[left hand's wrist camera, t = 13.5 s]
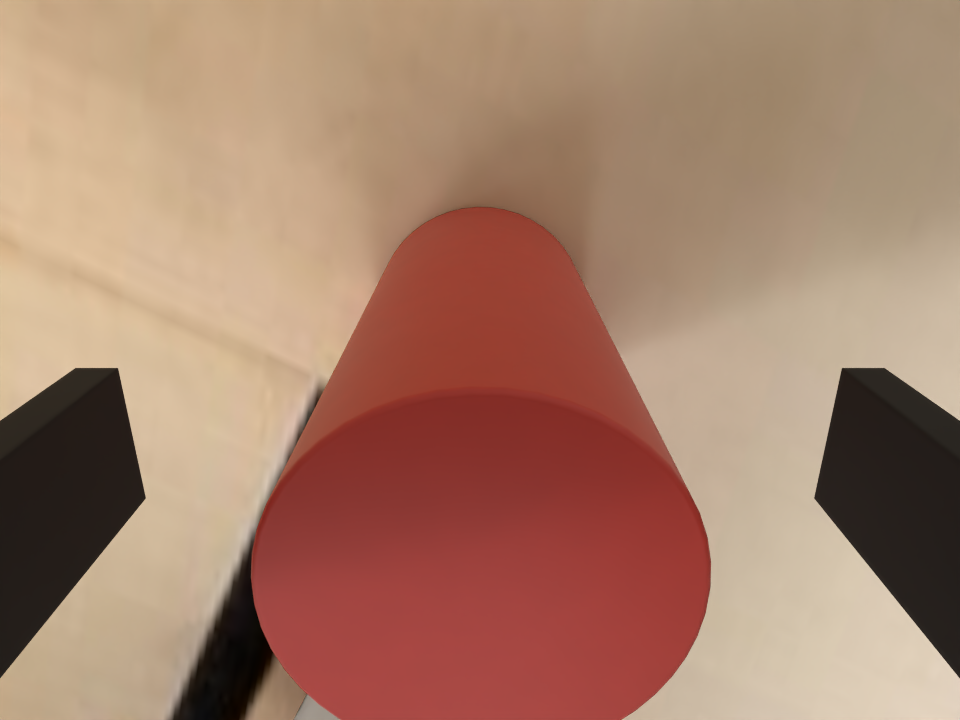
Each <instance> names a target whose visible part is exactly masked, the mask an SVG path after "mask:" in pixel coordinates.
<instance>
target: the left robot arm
mask: <svg viewBox="0 0 960 720" xmlns="http://www.w3.org/2000/svg"><path fill="white" fill-rule="evenodd" d="M145 499H146V497H145V493H144V488H143V483H142V479H141V474H140V469H139V464H138V460H137V455H136V450H135V446H134V441H133V436H132V432H131V427H130V422H129V418H128V413H127V408H126V404H125V399H124V394H123V390H122V385H121V380H120V376H119V371H118V368H75V369H74V370H72V371H71V372H69V373H68V374H67V375H65V376H64V377H62V378H61V379H59V380H58V381H57V382H55V383H54V384H52V385H51V386H49V387H48V388H47V389H45V390H44V391H42V392H41V393H39V394H38V395H37V396H35V397H34V398H32V399H31V400H29V401H28V402H27V403H25V404H24V405H22V406H21V407H19V408H18V409H17V410H15V411H14V412H12V413H11V414H9V415H8V416H7V417H5V418H4V419H2V420H1V421H0V678H1V677H2V675H3V674H4V673H5V672H6V670H7V669H8V668H9V667H10V665H11V664H12V663H13V662H14V660H15V659H16V658H17V657H18V656H19V654H20V653H21V652H22V651H23V649H24V648H25V647H26V646H27V644H28V643H29V642H30V641H31V639H32V638H33V637H34V636H35V635H36V633H37V632H38V631H39V630H40V628H41V627H42V626H43V625H44V623H45V622H46V621H47V620H48V618H49V617H50V616H51V615H52V614H53V612H54V611H55V610H56V609H57V607H58V606H59V605H60V604H61V602H62V601H63V600H64V599H65V597H66V596H67V595H68V594H69V592H70V591H71V590H72V589H73V588H74V586H75V585H76V584H77V583H78V581H79V580H80V579H81V578H82V576H83V575H84V574H85V573H86V571H87V570H88V569H89V568H90V567H91V565H92V564H93V563H94V562H95V560H96V559H97V558H98V557H99V555H100V554H101V553H102V552H103V550H104V549H105V548H106V547H107V546H108V544H109V543H110V542H111V541H112V539H113V538H114V537H115V536H116V534H117V533H118V532H119V531H120V529H121V528H122V527H123V526H124V524H125V523H126V522H127V521H128V520H129V518H130V517H131V516H132V515H133V513H134V512H135V511H136V510H137V508H138V507H139V506H140V505H141V503H142V502H143V501H144V500H145ZM814 499H815V500H816V501H817V502H818V503H819V505H820V506H821V507H822V508H823V510H824V511H825V512H826V513H827V515H828V516H829V517H830V518H831V520H832V521H833V522H834V523H835V524H836V526H837V527H838V528H839V529H840V531H841V532H842V533H843V534H844V536H845V537H846V538H847V539H848V541H849V542H850V543H851V544H852V546H853V547H854V548H855V549H856V550H857V552H858V553H859V554H860V555H861V557H862V558H863V559H864V560H865V562H866V563H867V564H868V565H869V567H870V568H871V569H872V570H873V571H874V573H875V574H876V575H877V576H878V578H879V579H880V580H881V581H882V583H883V584H884V585H885V586H886V588H887V589H888V590H889V591H890V592H891V594H892V595H893V596H894V597H895V599H896V600H897V601H898V602H899V604H900V605H901V606H902V607H903V609H904V610H905V611H906V612H907V614H908V615H909V616H910V617H911V618H912V620H913V621H914V622H915V623H916V625H917V626H918V627H919V628H920V630H921V631H922V632H923V633H924V635H925V636H926V637H927V638H928V639H929V641H930V642H931V643H932V644H933V646H934V647H935V648H936V649H937V651H938V652H939V653H940V654H941V656H942V657H943V658H944V659H945V660H946V662H947V663H948V664H949V665H950V667H951V668H952V669H953V670H954V672H955V673H956V674H957V675H958V677H959V678H960V421H959V420H958V419H956V418H955V417H953V416H952V415H951V414H949V413H948V412H946V411H945V410H943V409H942V408H941V407H939V406H938V405H936V404H935V403H933V402H932V401H931V400H929V399H928V398H926V397H925V396H923V395H922V394H921V393H919V392H918V391H916V390H915V389H913V388H912V387H911V386H909V385H908V384H906V383H905V382H903V381H902V380H901V379H899V378H898V377H896V376H895V375H893V374H892V373H891V372H889V371H888V370H886V369H885V368H842V371H841V376H840V380H839V385H838V390H837V394H836V399H835V404H834V408H833V413H832V418H831V422H830V427H829V432H828V436H827V441H826V446H825V450H824V455H823V460H822V464H821V469H820V474H819V478H818V483H817V488H816V493H815V497H814Z"/></svg>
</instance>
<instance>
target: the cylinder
mask: <svg viewBox="0 0 960 720" xmlns="http://www.w3.org/2000/svg"><path fill="white" fill-rule="evenodd" d="M251 581H252V588H253V596H254V604H255V608H256V611H257V614H258V618H259V621H260V625H261V628H262V630H263V632H264V634H265V637H266V639H267V641H268V643H269V645H270V647H271V649H272V651H273V652H274V654H275V656H276V657H277V659H278V660H279V662H280V663H281V665H282V666H283V668H284V669H285V671H286V672H287V673H288V674H289V675H290V676H291V678H292V679H293V680H294V681H295V682H296V683H297V684H298V686H299V687H300V688H301V689H302V690H303V691H304V692H306V693H307V694H308V695H309V696H310V697H311V698H312V699H313V700H314V701H316V702H317V703H318V704H319V705H320V706H322V707H323V708H324V709H326V710H327V711H329V712H330V713H331V714H333V715H334V716H336V717H337V718H339V719H340V720H622V719H623V718H625V717H626V716H628V715H629V714H631V713H633V712H634V711H636V710H637V709H638V708H639V707H640V706H642V705H643V704H644V703H645V702H647V701H648V700H649V699H650V698H651V697H653V696H654V695H655V694H656V693H657V692H658V691H659V690H660V689H661V688H662V687H663V686H664V685H665V683H666V682H667V681H668V680H669V679H670V678H671V677H672V676H673V674H674V673H675V672H676V670H677V669H678V668H679V666H680V665H681V664H682V662H683V661H684V659H685V658H686V656H687V655H688V653H689V651H690V649H691V647H692V645H693V643H694V641H695V640H696V638H697V636H698V633H699V630H700V627H701V624H702V622H703V619H704V616H705V613H706V608H707V602H708V597H709V592H710V581H711V559H710V552H709V545H708V538H707V534H706V531H705V528H704V525H703V522H702V519H701V515H700V513H699V511H698V509H697V507H696V505H695V503H694V501H693V499H692V497H691V495H690V493H689V491H688V489H687V487H686V485H685V483H684V481H683V479H682V477H681V475H680V473H679V471H678V469H677V467H676V465H675V463H674V461H673V459H672V457H671V455H670V453H669V451H668V449H667V447H666V445H665V443H664V442H663V440H662V438H661V436H660V434H659V432H658V430H657V428H656V426H655V424H654V422H653V420H652V418H651V416H650V414H649V412H648V410H647V408H646V406H645V404H644V402H643V400H642V398H641V396H640V394H639V392H638V390H637V388H636V386H635V384H634V382H633V380H632V378H631V377H630V375H629V373H628V371H627V369H626V367H625V365H624V363H623V361H622V359H621V357H620V355H619V353H618V351H617V349H616V347H615V345H614V343H613V341H612V339H611V337H610V335H609V333H608V331H607V329H606V327H605V325H604V323H603V321H602V319H601V317H600V315H599V313H598V312H597V310H596V308H595V306H594V304H593V302H592V300H591V298H590V296H589V294H588V292H587V290H586V288H585V286H584V284H583V282H582V280H581V278H580V276H579V274H578V272H577V270H576V268H575V266H574V264H573V262H572V260H571V258H570V256H569V255H568V253H567V252H566V251H565V249H564V248H563V246H562V245H561V244H560V243H559V242H558V241H557V239H556V238H555V237H554V236H553V235H552V234H550V233H549V232H548V231H547V230H546V229H544V228H543V227H542V226H540V225H539V224H537V223H535V222H534V221H532V220H531V219H528V218H526V217H524V216H522V215H520V214H517V213H514V212H510V211H507V210H503V209H497V208H489V207H474V208H464V209H459V210H455V211H451V212H448V213H445V214H443V215H440V216H437V217H435V218H433V219H432V220H430V221H428V222H426V223H424V224H423V225H422V226H420V227H419V228H417V229H416V230H415V231H413V232H412V233H411V234H410V235H409V236H408V237H407V238H406V239H405V240H404V241H403V242H402V244H401V245H400V246H399V247H398V249H397V250H396V251H395V253H394V255H393V256H392V258H391V260H390V262H389V263H388V265H387V267H386V269H385V271H384V273H383V275H382V277H381V279H380V281H379V283H378V285H377V287H376V289H375V291H374V293H373V295H372V297H371V299H370V301H369V303H368V305H367V307H366V309H365V311H364V313H363V315H362V317H361V318H360V320H359V322H358V324H357V326H356V328H355V330H354V332H353V334H352V336H351V338H350V340H349V342H348V344H347V346H346V348H345V350H344V352H343V354H342V356H341V358H340V360H339V362H338V364H337V366H336V368H335V370H334V372H333V374H332V376H331V378H330V380H329V382H328V384H327V385H326V387H325V389H324V391H323V393H322V395H321V397H320V399H319V401H318V403H317V405H316V407H315V409H314V411H313V413H312V415H311V417H310V419H309V421H308V423H307V425H306V427H305V429H304V431H303V433H302V435H301V437H300V439H299V441H298V443H297V445H296V447H295V449H294V451H293V453H292V454H291V456H290V458H289V460H288V462H287V464H286V466H285V468H284V470H283V472H282V474H281V476H280V478H279V480H278V482H277V484H276V486H275V488H274V490H273V492H272V494H271V496H270V498H269V500H268V502H267V504H266V506H265V509H264V511H263V514H262V517H261V519H260V522H259V524H258V527H257V531H256V536H255V541H254V546H253V550H252V566H251Z"/></svg>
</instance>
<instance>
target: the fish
mask: <svg viewBox="0 0 960 720" xmlns="http://www.w3.org/2000/svg"><path fill="white" fill-rule="evenodd" d="M294 720H340V719H339V718H337V717H336V716H334V715H333V714H331V713H330V712H329V711H327V710H326V709H324V708H323V707H322V706H320V705H319V704H318V703H317V702H316V701H314V700H313V699H312V698H311V697H310V696H309V695H308V694H307V695H306V697H305V699H304V701H303V703H302V705H301V706H300V708H299V710H298V712H297V714H296V716H295V718H294Z"/></svg>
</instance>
